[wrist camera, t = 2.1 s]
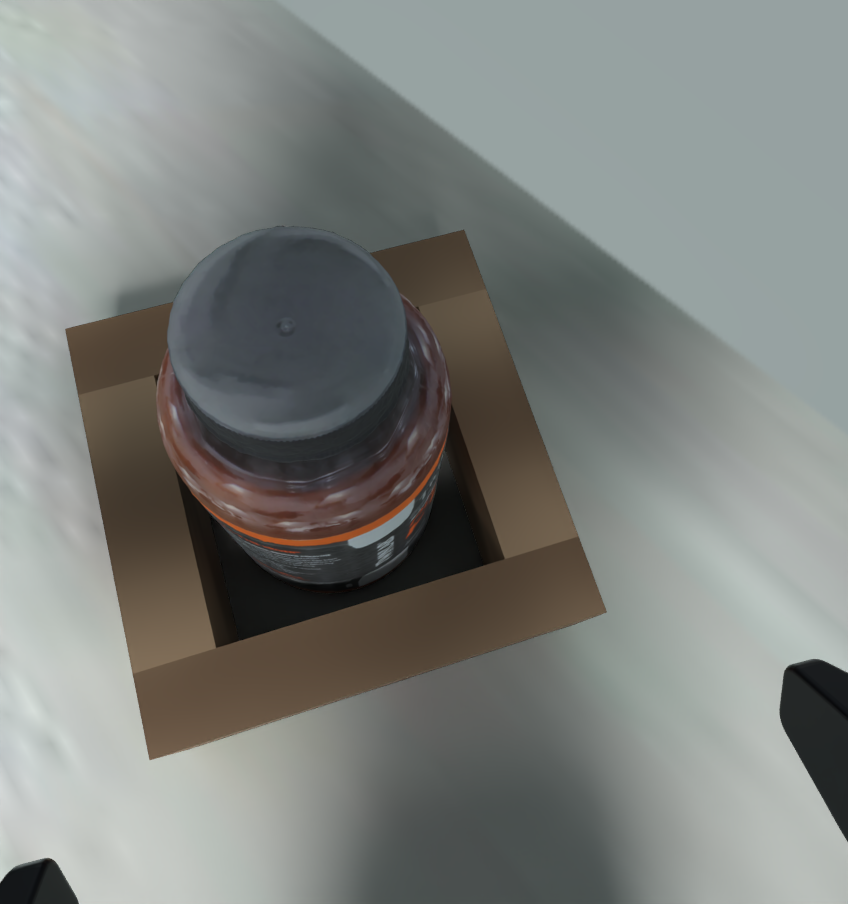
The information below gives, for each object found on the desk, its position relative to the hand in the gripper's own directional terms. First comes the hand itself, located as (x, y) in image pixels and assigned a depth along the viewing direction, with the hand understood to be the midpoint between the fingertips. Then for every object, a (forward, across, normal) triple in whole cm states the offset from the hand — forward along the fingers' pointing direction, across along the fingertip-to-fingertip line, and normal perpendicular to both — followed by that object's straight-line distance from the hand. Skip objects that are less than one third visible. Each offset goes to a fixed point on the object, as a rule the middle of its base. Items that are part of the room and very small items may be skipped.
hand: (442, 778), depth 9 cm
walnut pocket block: (+14, +1, +4) cm, 15 cm away
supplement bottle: (+14, +1, +4) cm, 15 cm away
